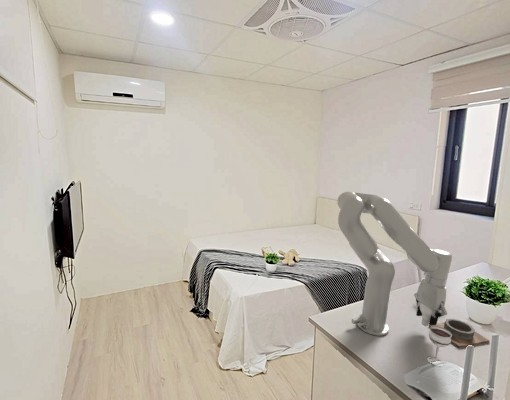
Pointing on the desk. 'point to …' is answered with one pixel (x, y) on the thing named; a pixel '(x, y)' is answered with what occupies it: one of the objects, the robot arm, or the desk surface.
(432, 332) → the wineglass
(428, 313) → the lightbulb
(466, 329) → the bulb holder
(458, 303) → the desk surface
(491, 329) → the desk surface
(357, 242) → the robot arm
